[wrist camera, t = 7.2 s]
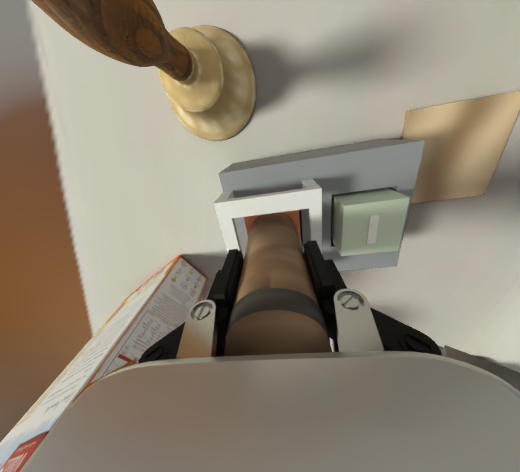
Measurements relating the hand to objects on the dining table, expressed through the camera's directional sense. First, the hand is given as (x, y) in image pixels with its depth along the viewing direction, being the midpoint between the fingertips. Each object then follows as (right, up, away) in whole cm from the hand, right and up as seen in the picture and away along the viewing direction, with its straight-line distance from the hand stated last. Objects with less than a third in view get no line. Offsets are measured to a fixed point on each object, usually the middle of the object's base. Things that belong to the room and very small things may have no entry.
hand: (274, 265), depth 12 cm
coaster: (+18, +10, +7) cm, 21 cm away
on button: (+8, +4, +5) cm, 10 cm away
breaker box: (+4, +6, +10) cm, 12 cm away
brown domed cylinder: (0, +2, +4) cm, 4 cm away
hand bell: (-5, +15, +5) cm, 17 cm away
